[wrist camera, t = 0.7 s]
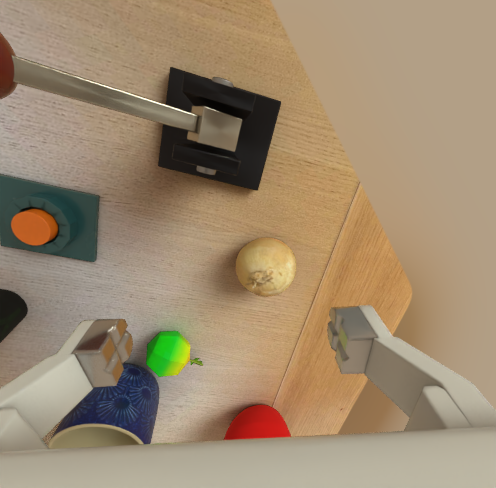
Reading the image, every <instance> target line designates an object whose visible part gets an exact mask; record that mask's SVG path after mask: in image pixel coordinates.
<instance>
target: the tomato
mask: <svg viewBox="0 0 496 488" xmlns="http://www.w3.org/2000/svg"><path fill="white" fill-rule="evenodd" d="M276 437H291V435H290V432H289V430H288V427H287V425H286V423H285V421H284V419H283V418H282V416H281V415H280V414H279V413H278V411H277V410H275V409H274V408H272V407H270V406H268V405H255V406H251V407H249V408H247V409H245V410H243V411H242V412H241V413H239V414H238V415H237V416H236V417H235V418H234V420H233V421H232V422H231V424H230V426H229V428H228V430H227V432H226V435H225V438H224V440H236V439H256V438H276Z"/></svg>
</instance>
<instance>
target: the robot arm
mask: <svg viewBox="0 0 496 488" xmlns="http://www.w3.org/2000/svg"><path fill="white" fill-rule="evenodd" d="M329 316H330V318H331V321H330V322H329V323H328V329H327V331H328V339H329V343H330V346H331V348H332V349H333V350H335V351H336V356H335V359H336V361H337V364H338V367H339V369H340V372H341V374H359V373H365V375H366V376H367V377H368V378H369V379H370V380H371V381H372V382H373V383H374V384H375V385H376V386H377V387H378V388H379V389H380V390H381V391H382V392H383V393H384V394H385V395H386V396H388V397H389V398H390V399H391V400H392V401H393V402H394V403H395V404H396V405H397V406H398V407H399V408H400V409H401V410H402V411H403V412H404V413H405V414H406V415H407V416H409V417H410V418H409V421H408V423H407V425H406V427H405V430H404V431H395V432H375V433H356V434H355V433H354V434H335V435H315V436H295V437H276V438H256V439H236V440H217V441H198V442H179V443H160V444H140V445H120V446H101V447H81V448H62V449H50V448H49V447H48V446H47V445H46V443H45V442H44V441H43V440H42V439H43V438H44V437H45V436H46V435H47V434H48V433H49V432H50V431H51V430H52V429H53V428H54V427H55V426H56V425H57V424H58V423H59V422H60V421H61V420H62V419H63V418H64V417H65V416H66V415H67V414H68V413H69V412H70V411H71V410H72V409H73V408H74V407H75V406H76V405H77V404H78V403H79V402H80V401H81V400H82V399H83V398H84V397H85V396H86V395H87V394H88V393H89V392H90V391H91V390H92V389H93V387H105V386H116V385H117V383H118V381H119V378H120V376H121V374H122V372H123V370H124V368H123V365H122V364H123V363H124V362H125V361H126V360H128V359H129V357H130V354H131V352H132V346H133V340H132V336H131V334H130V333H129V332H127V331H126V328H127V326H128V325H127V323H126V321H125V320H124V319H97V320H84V321H82V322H80V324H79V325H78V326H77V328H76V329H75V330H74V331H73V333H72V334H71V335H70V337H69V338H68V339H67V340H66V342H65V343H64V344H63V346H62V347H61V348H60V350H59V351H58V352H57V353H56V355H51V356H49V357H48V358H46V359H45V360H43V361H41V362H40V363H38V364H37V365H35V366H34V367H32V368H31V369H29V370H27V371H26V372H24V373H23V374H21V375H20V376H18V377H17V378H15V379H14V380H12V381H10V382H9V383H7V384H6V385H4V386H3V387H1V388H0V488H496V411H495V409H494V408H493V407H492V406H491V405H490V403H489V402H488V401H487V400H486V399H485V398H484V396H483V395H482V394H481V393H480V392H479V390H478V389H477V388H476V387H475V386H474V384H473V383H471V382H470V381H468V380H466V379H465V378H463V377H461V376H460V375H458V374H457V373H455V372H453V371H451V370H450V369H448V368H447V367H445V366H443V365H442V364H440V363H438V362H437V361H435V360H434V359H432V358H431V357H429V356H427V355H426V354H424V353H422V352H421V351H419V350H418V349H416V348H414V347H413V346H411V345H409V344H408V343H406V342H404V341H403V340H401V339H400V338H398V337H393V336H392V335H391V333H390V332H389V330H388V329H387V327H386V326H385V324H384V323H383V321H382V320H381V319H380V317H379V316H378V314H377V313H376V311H375V310H374V308H373V307H372V306H371V305H362V306H348V307H332V308H331V309H330V313H329Z"/></svg>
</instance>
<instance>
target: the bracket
mask: <svg viewBox="0 0 496 488" xmlns="http://www.w3.org/2000/svg"><path fill="white" fill-rule="evenodd" d="M166 105H169V106H172V107H175V108H178V109H181V110H185V111H188V112H191V111H192V106H206V107H209V108H212V109H215V110H218V111H221V112H224V113H226V114H229V115H232V116H235V117H238V118H241V119H242V123H241V128H240V132H239V136H238V141H237V145H236V150H235V152H231V151H227V150H224V149H220V148H216V147H212V146H208V145H204V144H200V143H197V142H194V141H191V140H188V139H187V136H188V131H186V130H183V129H179V128H176V127H172V126H169V125H165V124H163V130H162V138H161V146H160V154H159V162H158V166H160V167H164V168H168V169H172V170H176V171H180V172H184V173H188V174H192V175H196V176H200V177H204V178H208V179H212V180H216V181H220V182H224V183H228V184H232V185H236V186H240V187H244V188H249V189H253V190H258V187H259V184H260V180H261V176H262V173H263V169H264V165H265V161H266V158H267V154H268V150H269V146H270V143H271V139H272V135H273V131H274V128H275V124H276V120H277V116H278V113H279V109H280V105H281V101H278V100H274V99H271V98H268V97H265V96H262V95H259V94H255V93H252V92H249V91H246V90H243V89H240V88H236V87H233V83H231V82H230V81H228V80H226V79H223V78H219V77H213V78H212V80H211V79H208V78H205V77H201V76H198V75H195V74H192V73H189V72H186V71H182V70H179V69H176V68H173V67H170V74H169V82H168V90H167V98H166Z"/></svg>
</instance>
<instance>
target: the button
mask: <svg viewBox="0 0 496 488" xmlns="http://www.w3.org/2000/svg"><path fill="white" fill-rule="evenodd" d="M11 228H12V231H13V233H14V234H15V236H16V237H17V238H18V239H20V240H21V241H22V242H24V243H26V244H29V245H42V244H44V243H46V242H48V241H50V240H52V239H53V238H55V236H56V235H57V233H58V224H57V222H56V220H55V219H54V218H53V216H52V215H50V214H49V213H48V212H46V211H43V210H40V209H29V210H26V211H23V212H20V213H18V214H16V215H15V216H14V217H13V219H12V221H11Z"/></svg>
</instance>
